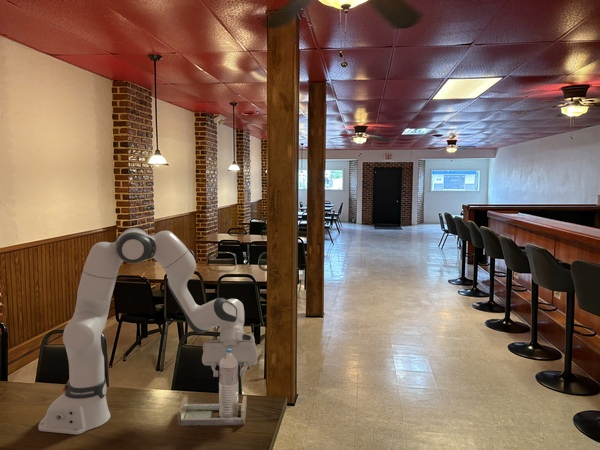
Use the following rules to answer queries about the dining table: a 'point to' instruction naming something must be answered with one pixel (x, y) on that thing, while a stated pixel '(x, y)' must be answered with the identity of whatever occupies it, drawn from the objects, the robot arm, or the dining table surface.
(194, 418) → the wooden rack frame
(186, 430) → the dining table surface
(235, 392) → the water bottle
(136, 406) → the dining table surface
